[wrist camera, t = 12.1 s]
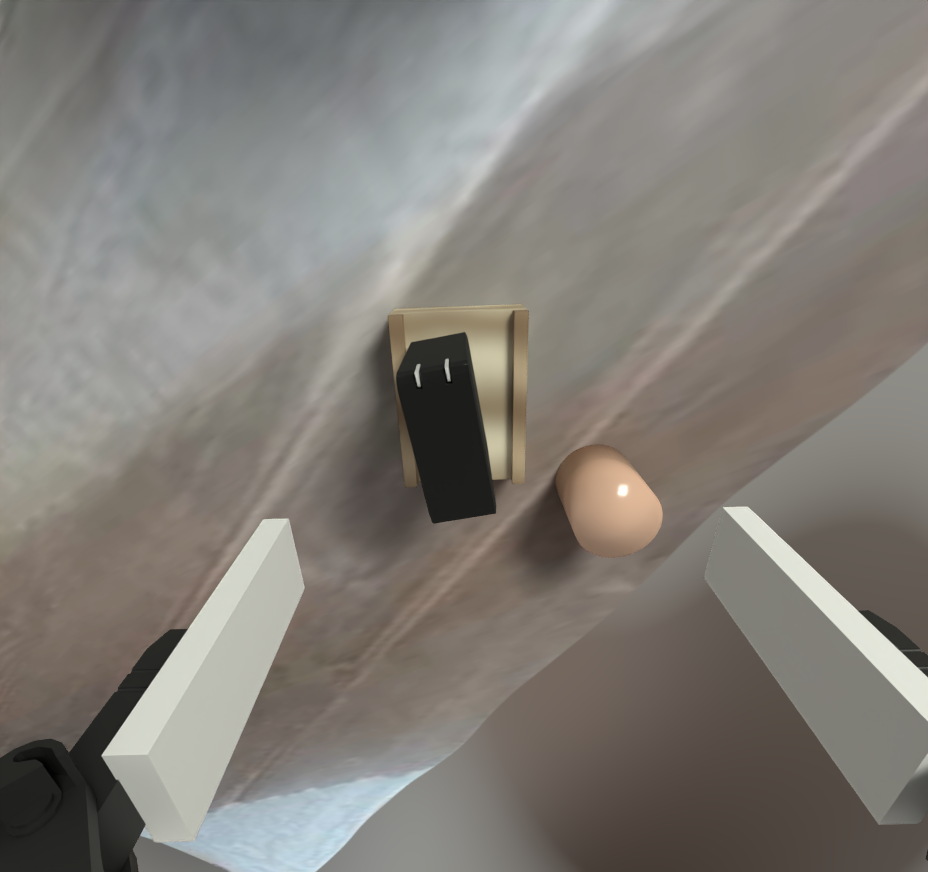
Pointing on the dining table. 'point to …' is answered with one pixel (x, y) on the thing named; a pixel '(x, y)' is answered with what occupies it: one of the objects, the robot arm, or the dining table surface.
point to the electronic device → (446, 427)
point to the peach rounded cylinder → (607, 502)
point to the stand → (476, 375)
